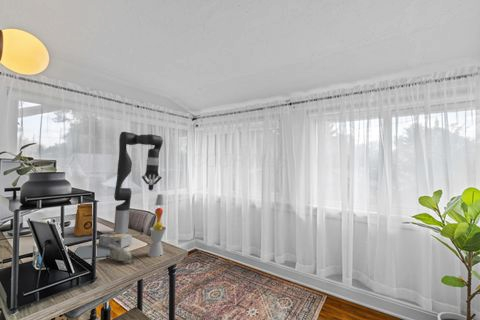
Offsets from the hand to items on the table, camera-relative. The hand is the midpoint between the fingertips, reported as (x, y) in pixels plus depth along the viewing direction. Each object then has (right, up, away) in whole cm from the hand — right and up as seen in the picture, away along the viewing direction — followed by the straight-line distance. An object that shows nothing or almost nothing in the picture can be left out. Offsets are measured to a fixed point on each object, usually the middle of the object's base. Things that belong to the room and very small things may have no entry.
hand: (150, 190), depth 143 cm
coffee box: (-10, -30, -11) cm, 34 cm away
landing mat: (-23, -33, -19) cm, 44 cm away
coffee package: (-50, -33, +8) cm, 60 cm away
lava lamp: (+10, -35, -18) cm, 41 cm away
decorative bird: (-5, -34, -29) cm, 45 cm away
